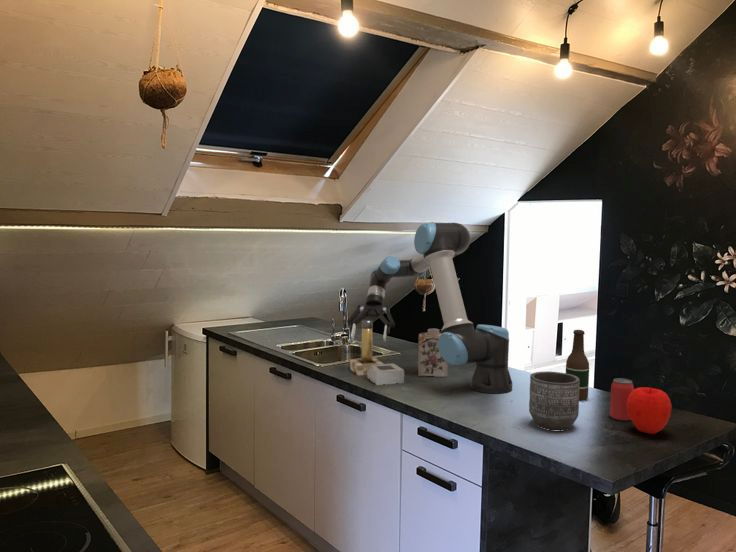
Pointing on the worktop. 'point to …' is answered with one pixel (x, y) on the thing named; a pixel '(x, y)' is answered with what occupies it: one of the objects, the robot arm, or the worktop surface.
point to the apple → (649, 409)
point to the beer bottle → (579, 364)
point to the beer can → (620, 398)
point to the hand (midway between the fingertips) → (368, 339)
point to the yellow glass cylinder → (367, 341)
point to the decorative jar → (430, 355)
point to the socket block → (385, 374)
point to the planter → (554, 399)
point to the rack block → (362, 365)
